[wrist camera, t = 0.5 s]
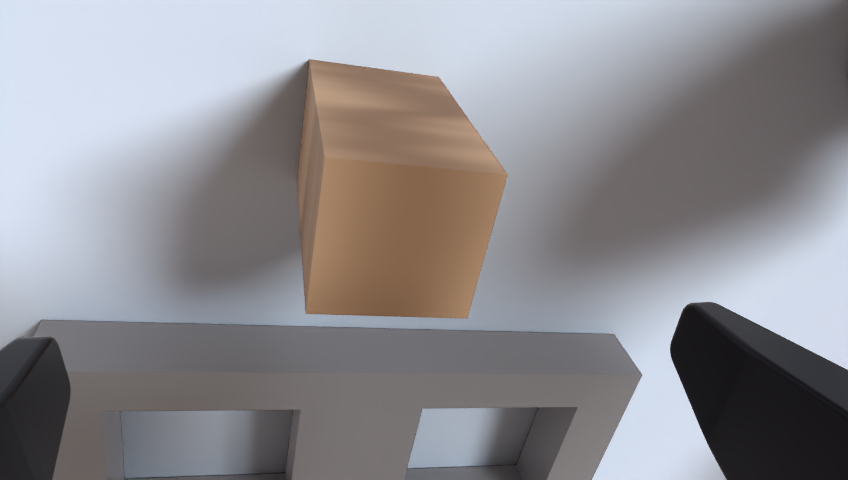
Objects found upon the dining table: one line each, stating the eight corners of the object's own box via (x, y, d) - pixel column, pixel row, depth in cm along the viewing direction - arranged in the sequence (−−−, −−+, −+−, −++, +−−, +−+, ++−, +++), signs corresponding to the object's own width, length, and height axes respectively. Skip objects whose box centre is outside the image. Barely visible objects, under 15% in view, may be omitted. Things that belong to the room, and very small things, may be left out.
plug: (438, 77, 20) (507, 174, 14) (415, 190, 22) (467, 318, 16) (309, 59, 19) (324, 157, 13) (296, 180, 20) (305, 313, 15)
